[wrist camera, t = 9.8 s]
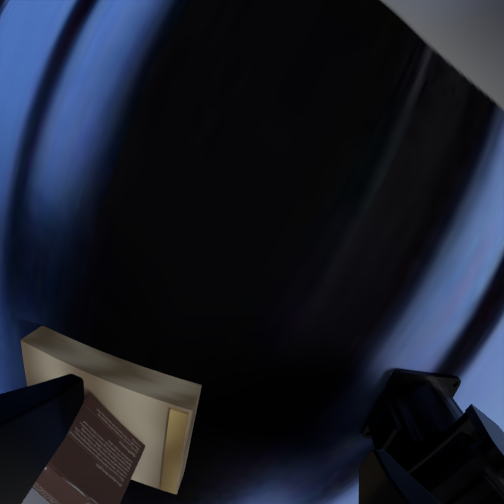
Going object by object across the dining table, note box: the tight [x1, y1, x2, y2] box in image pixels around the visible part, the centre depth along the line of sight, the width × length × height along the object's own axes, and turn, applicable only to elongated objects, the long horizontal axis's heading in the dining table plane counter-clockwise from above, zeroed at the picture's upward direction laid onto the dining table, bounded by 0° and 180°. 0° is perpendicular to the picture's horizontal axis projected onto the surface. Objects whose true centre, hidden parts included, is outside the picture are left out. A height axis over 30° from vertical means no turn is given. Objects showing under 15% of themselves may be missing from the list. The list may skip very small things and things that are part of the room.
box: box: [32, 392, 145, 504], centre depth 16 cm, size 6×6×7 cm
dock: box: [21, 325, 202, 494], centre depth 21 cm, size 14×11×3 cm
